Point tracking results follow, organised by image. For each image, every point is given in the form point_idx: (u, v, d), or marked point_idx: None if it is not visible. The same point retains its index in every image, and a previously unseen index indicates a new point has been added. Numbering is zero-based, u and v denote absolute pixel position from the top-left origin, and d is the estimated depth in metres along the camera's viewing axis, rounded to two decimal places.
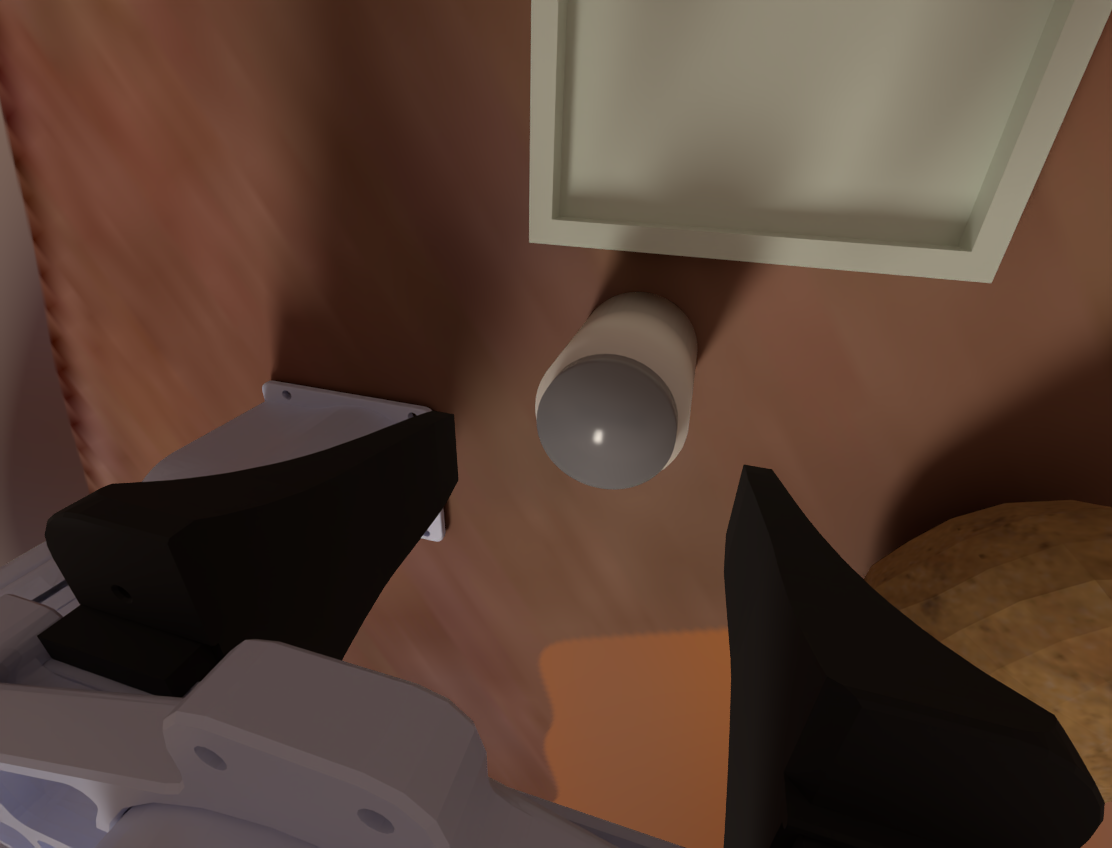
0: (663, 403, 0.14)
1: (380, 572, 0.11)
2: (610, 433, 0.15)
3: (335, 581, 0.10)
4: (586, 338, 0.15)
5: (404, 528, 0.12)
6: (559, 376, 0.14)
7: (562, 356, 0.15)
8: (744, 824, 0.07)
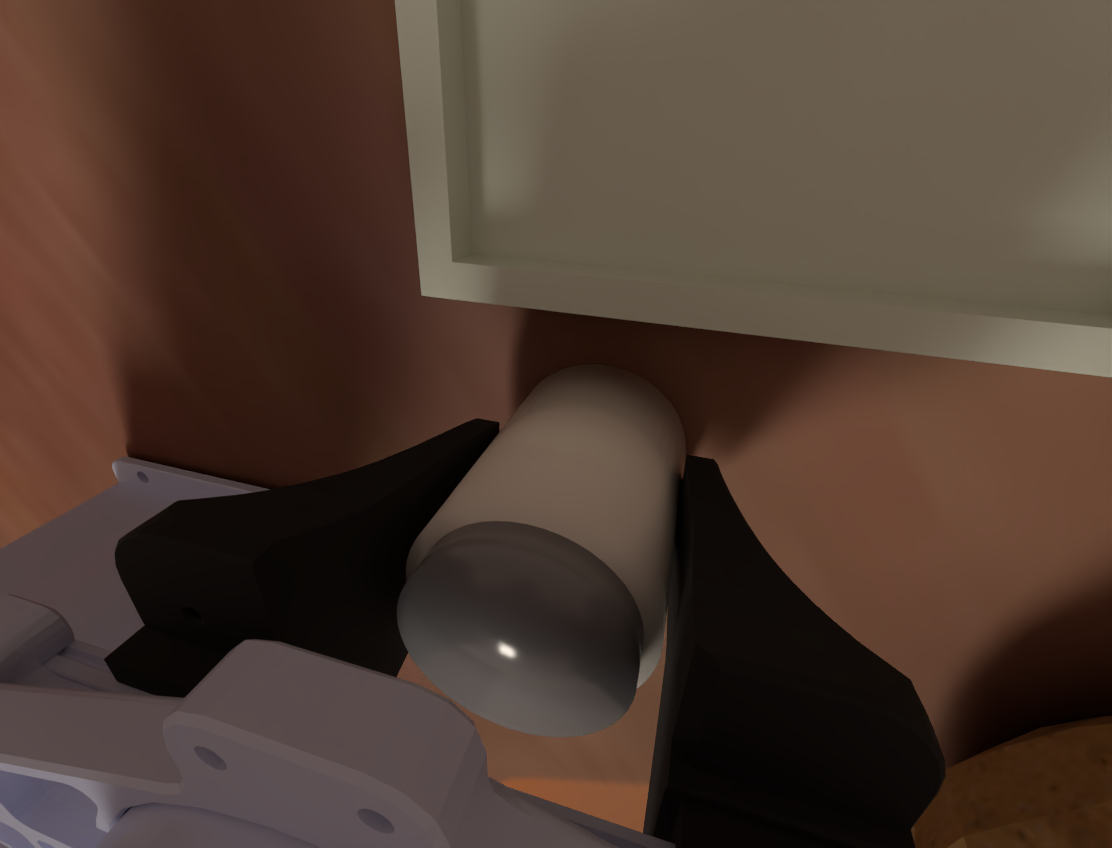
0: (609, 630, 0.07)
1: None
2: (522, 660, 0.08)
3: (393, 596, 0.09)
4: (486, 479, 0.09)
5: None
6: (425, 566, 0.08)
7: (440, 517, 0.08)
8: (653, 795, 0.07)
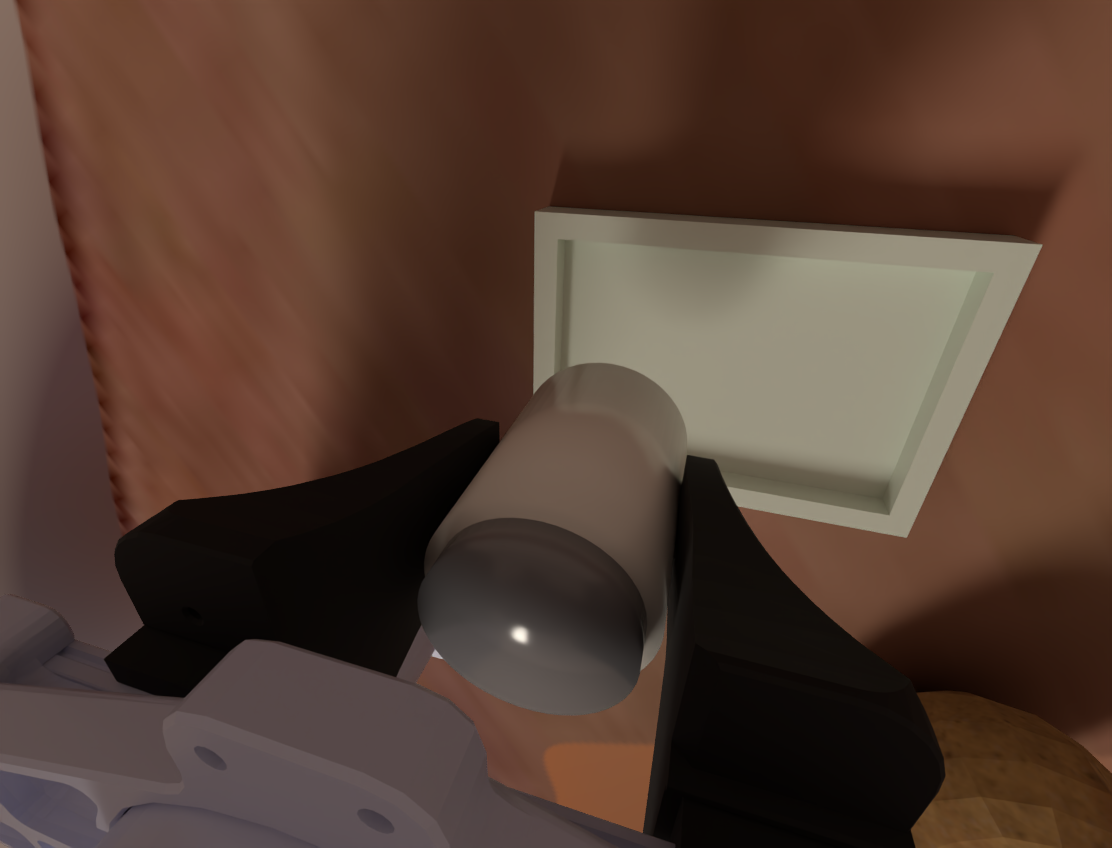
0: (617, 620, 0.08)
1: None
2: (534, 645, 0.09)
3: (393, 597, 0.09)
4: (501, 477, 0.09)
5: None
6: (445, 558, 0.08)
7: (458, 512, 0.09)
8: (653, 794, 0.07)
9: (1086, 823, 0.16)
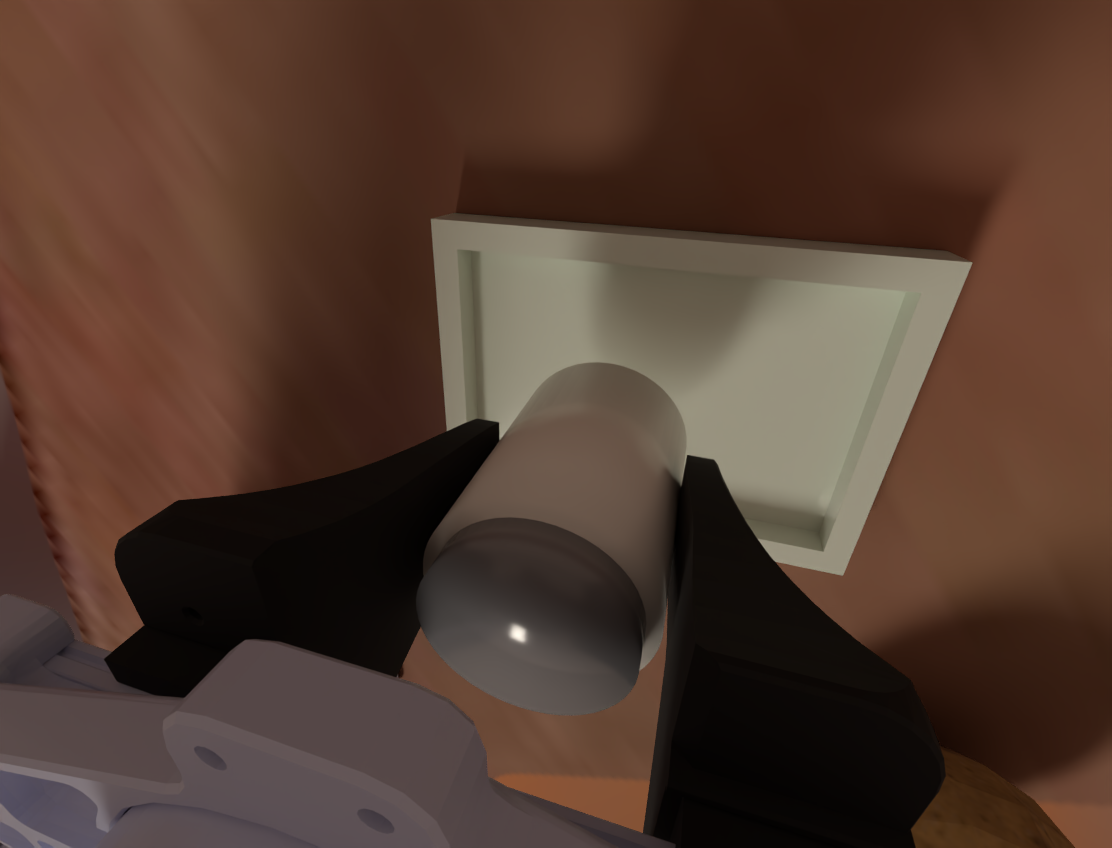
0: (616, 620, 0.08)
1: None
2: (533, 645, 0.09)
3: (393, 597, 0.09)
4: (500, 477, 0.09)
5: None
6: (444, 558, 0.08)
7: (457, 512, 0.09)
8: (653, 795, 0.07)
9: None
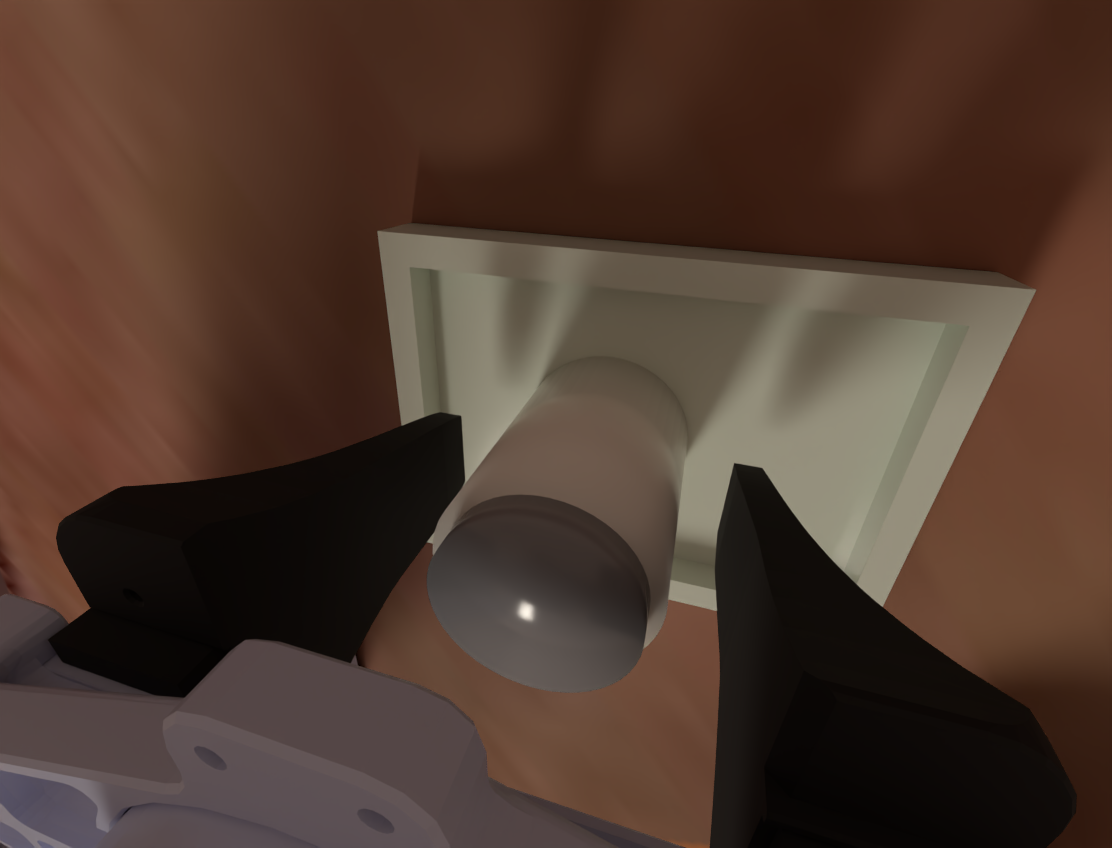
0: (622, 591, 0.08)
1: (389, 574, 0.11)
2: (540, 620, 0.09)
3: (344, 584, 0.10)
4: (509, 458, 0.10)
5: (412, 530, 0.12)
6: (456, 533, 0.09)
7: (468, 490, 0.09)
8: (728, 819, 0.07)
9: None
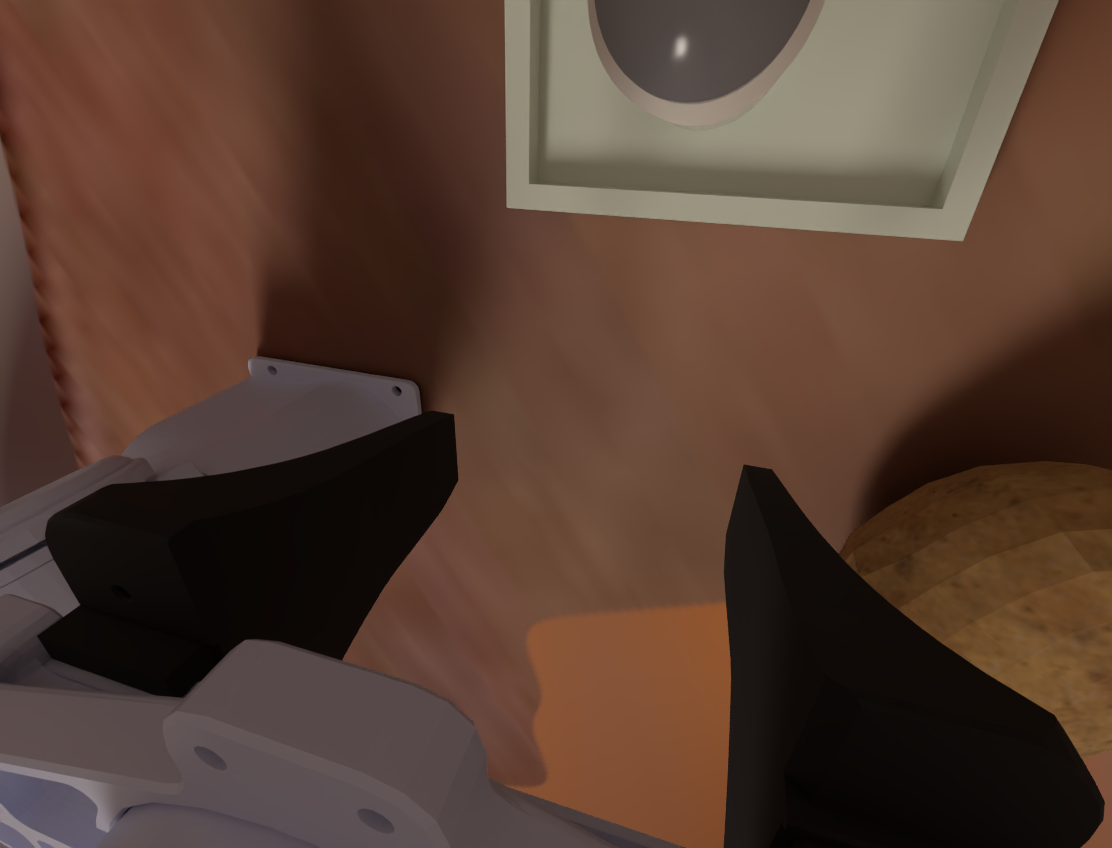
0: None
1: (380, 572, 0.11)
2: None
3: (335, 581, 0.10)
4: None
5: (404, 528, 0.12)
6: None
7: None
8: (744, 824, 0.07)
9: None
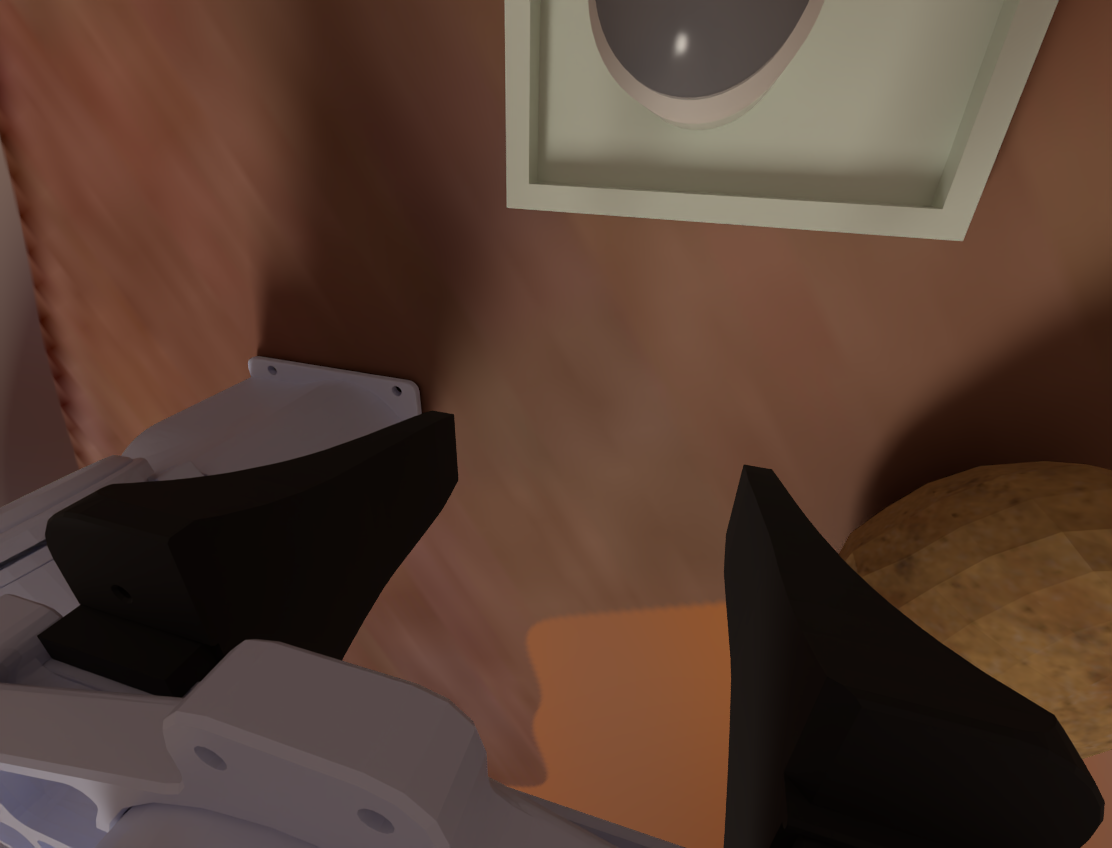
0: None
1: (380, 572, 0.11)
2: None
3: (335, 581, 0.10)
4: None
5: (404, 528, 0.12)
6: None
7: None
8: (744, 824, 0.07)
9: None
